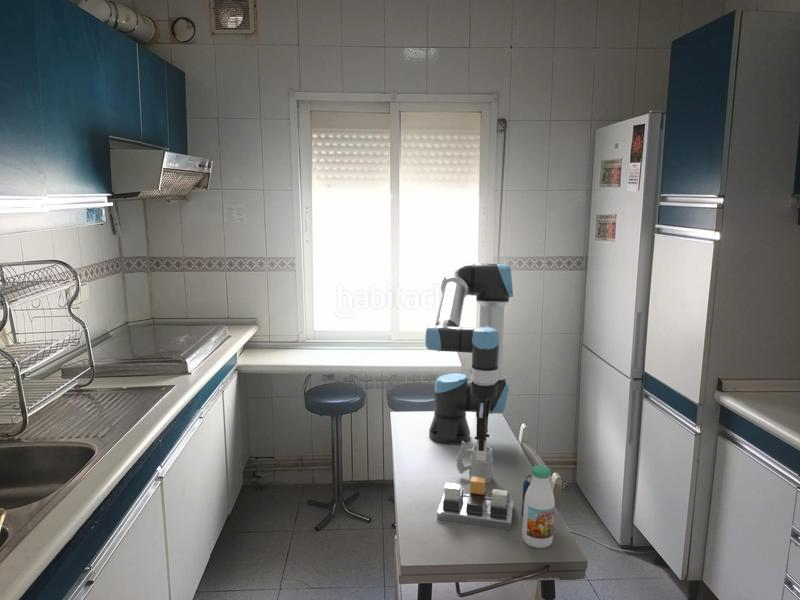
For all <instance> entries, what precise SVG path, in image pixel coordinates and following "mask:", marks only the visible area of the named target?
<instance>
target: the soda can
mask: <svg viewBox="0 0 800 600" xmlns="http://www.w3.org/2000/svg"><path fill="white" fill-rule="evenodd" d="M531 481H532V474H528V475H526V477H525V480H524V481H523V483H522V498H521V501H522V502H521V516H522V518H523V511H524V499H525V494H526V491H527V489H528V487H529V485H530V484H531Z"/></svg>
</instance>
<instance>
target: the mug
mask: <svg viewBox="0 0 800 600" xmlns="http://www.w3.org/2000/svg"><path fill="white" fill-rule="evenodd" d="M476 453H477V444H476V445H474V446H472V448H468V444H467V443H466V442H464V441H462V443H461V447H460V450H459V452H458V454H457V456H456V458H455V462H456V470H457V471H458V472H459V474H461V475H462V474H463V473H465V472H466V471H468V474H469V479H470V480H471V477H480V478H486V483H485V484H488V483H490V482H492V480H493V477H494V471H493V462H494V458H493V449H492V447H490V446H488V445H487V447H486V461H481V460H476ZM466 454H471V455H470V457H469V459H470V463H468V464H466V465H465V464H464V463H463V458H464V457H465V455H466Z"/></svg>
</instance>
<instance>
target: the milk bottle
mask: <svg viewBox="0 0 800 600" xmlns="http://www.w3.org/2000/svg"><path fill="white" fill-rule="evenodd" d="M531 475H532V481H531V484H530V485H529V487H528V489H527V491H526V494H525V499H524V511H523V517H522V529H521V530H522V531H521V532H522V534H521V538H522V540H523V542H524V543H525V544H526V545H528V546H530V547H532V548H535V549H546V548H548V547H550V546H551V545H552V544H553V539H554V525H555V524H554V523H555V506H556V505H555V503H556V501H555V495H554V492H553V489H552V486H551V484H550V479H551V469H550V468H549V467H548V466H546V465H542V464H541V465H540V464H537V465H534V466H533V467H532V468H531Z"/></svg>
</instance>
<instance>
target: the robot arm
mask: <svg viewBox="0 0 800 600" xmlns="http://www.w3.org/2000/svg"><path fill="white" fill-rule="evenodd" d="M512 279H513V276H512V268H511V266H510V265H508V264H503V263H499V262H498V263H482V262H479V263H478V262H475V263H474V262H466V263H461V264H460V265H457V266H455V267H453V269H451V270H449V272H447V274H445V276H444V278H443V279H442V281H441V287H440V291H441V294H442V295H441V299H440V303H439V307H438V311H437V316H436V320H435V323H434V324H435V325H429V326H427V327H426V330H425V347H426V349H427V350H428V351H436V352H457V353H469V354H471V369H469V373H470V374H471V375H470V377H471V379H468V376H467V374H463V373H460V372H459V373H456V372H454V373H447V374H446V373H445V374H444V375H441V376H439V377H437V378H436V380H435V385H434V390H433V391H434V416H433V419H432V421H431V424H430V427H429V430H428V431H429V432H428V434H429V435H428V436H429V438H430V439H431V440H432V441H434V442H436V443H439V444H444V445H460V444H462V441H464V442H465V443H466V442H468V441H469V440H470V439H471V430H470V427H469V423H468V420H467V417H466V416H467V412H469V413H476V414H475V416H476V436H474V440H476V445H477V453H476V460H481V461H486V447H487V446H488V445H487V443H488V438H490V434H488V432H489V429H488V428H489V427H488V425H489V416H490V414H491V415H492V414H493V415H494V414H495V415H496V414H498V415H500V414H503V413H504V411H505V410H506V407H507V400H508V396H509V389H510V382H508V381H506V376H505V375H504V374H503V371H502V369H503V367H502V366H503V346H504V343H503V342H504V324H505V322H504V321H505V307H506V305H508V303H509V302H510V298H513V297H514V292H513V291H514V289H513V287H514V286H513V280H512ZM467 296H476V303H478V305H479V326H478V327H463V326H462V327H461V319H462V312H463V306H464V301H465V298H466V297H467Z"/></svg>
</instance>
